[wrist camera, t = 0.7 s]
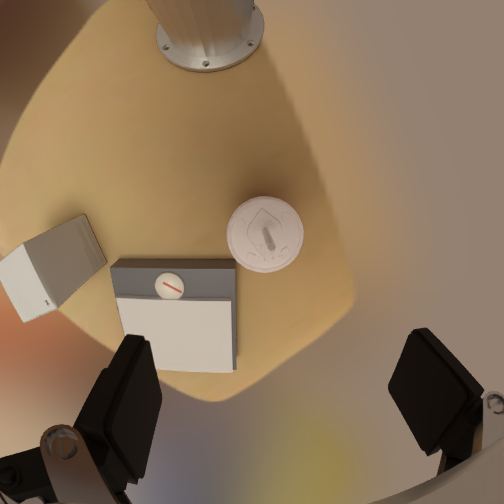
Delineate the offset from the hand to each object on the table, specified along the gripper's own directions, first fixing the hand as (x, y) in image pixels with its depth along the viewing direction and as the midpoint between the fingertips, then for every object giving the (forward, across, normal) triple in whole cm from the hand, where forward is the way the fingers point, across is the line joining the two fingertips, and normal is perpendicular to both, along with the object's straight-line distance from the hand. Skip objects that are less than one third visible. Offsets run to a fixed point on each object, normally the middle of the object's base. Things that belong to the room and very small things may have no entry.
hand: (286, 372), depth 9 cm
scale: (+24, +9, +12) cm, 29 cm away
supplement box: (+24, +23, +3) cm, 34 cm away
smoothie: (+24, -1, -1) cm, 24 cm away
